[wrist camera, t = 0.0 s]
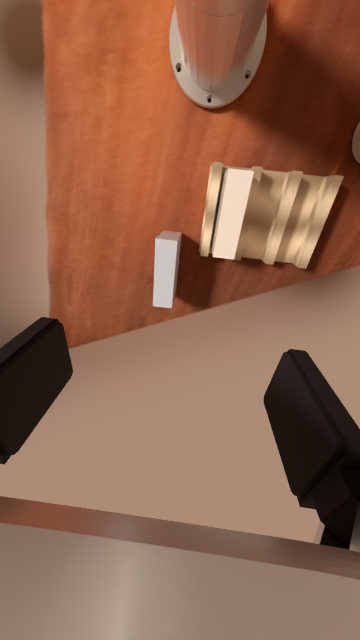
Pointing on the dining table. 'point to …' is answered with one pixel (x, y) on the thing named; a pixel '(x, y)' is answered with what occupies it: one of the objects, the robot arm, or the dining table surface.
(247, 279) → the dining table surface
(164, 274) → the white rectangular block
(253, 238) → the rack
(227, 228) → the cream foam brick
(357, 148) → the travel mug
